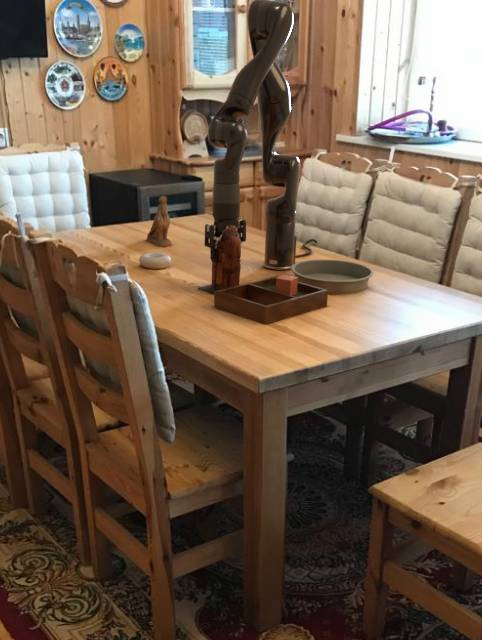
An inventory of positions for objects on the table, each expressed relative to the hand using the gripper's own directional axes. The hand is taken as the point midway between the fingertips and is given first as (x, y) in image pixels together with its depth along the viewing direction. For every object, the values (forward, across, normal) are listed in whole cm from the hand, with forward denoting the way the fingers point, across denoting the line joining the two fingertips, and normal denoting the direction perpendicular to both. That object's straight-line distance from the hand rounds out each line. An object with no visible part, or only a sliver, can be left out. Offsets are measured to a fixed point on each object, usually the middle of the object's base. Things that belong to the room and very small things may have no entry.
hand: (225, 260), depth 231 cm
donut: (+9, +2, +33) cm, 34 cm away
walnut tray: (+9, -2, -20) cm, 22 cm away
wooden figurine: (+8, 0, 0) cm, 8 cm away
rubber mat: (+9, 0, 0) cm, 9 cm away
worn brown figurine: (+9, +24, +57) cm, 62 cm away
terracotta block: (+6, +4, -20) cm, 21 cm away
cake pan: (+9, +29, -16) cm, 34 cm away
